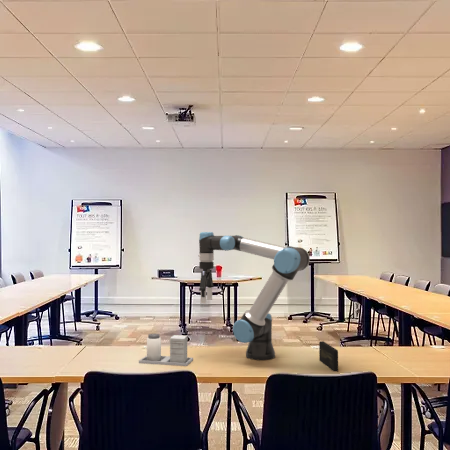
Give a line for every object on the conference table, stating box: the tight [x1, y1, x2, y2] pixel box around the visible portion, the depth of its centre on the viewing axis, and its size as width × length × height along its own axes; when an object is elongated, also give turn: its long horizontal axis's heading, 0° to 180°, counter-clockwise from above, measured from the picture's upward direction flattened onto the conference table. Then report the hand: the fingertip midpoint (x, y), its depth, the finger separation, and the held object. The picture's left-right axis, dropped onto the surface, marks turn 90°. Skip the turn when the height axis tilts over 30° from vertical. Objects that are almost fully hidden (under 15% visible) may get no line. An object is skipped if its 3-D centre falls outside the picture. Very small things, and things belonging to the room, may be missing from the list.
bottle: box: [146, 333, 162, 361], centre depth 254 cm, size 7×7×13 cm
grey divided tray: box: [138, 355, 194, 367], centre depth 252 cm, size 24×11×2 cm, turn 77°
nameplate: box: [318, 340, 339, 372], centre depth 249 cm, size 21×2×10 cm, turn 9°
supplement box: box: [169, 334, 188, 363], centre depth 251 cm, size 7×7×13 cm
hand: (206, 301), depth 268 cm, fingers open, 13 cm apart
